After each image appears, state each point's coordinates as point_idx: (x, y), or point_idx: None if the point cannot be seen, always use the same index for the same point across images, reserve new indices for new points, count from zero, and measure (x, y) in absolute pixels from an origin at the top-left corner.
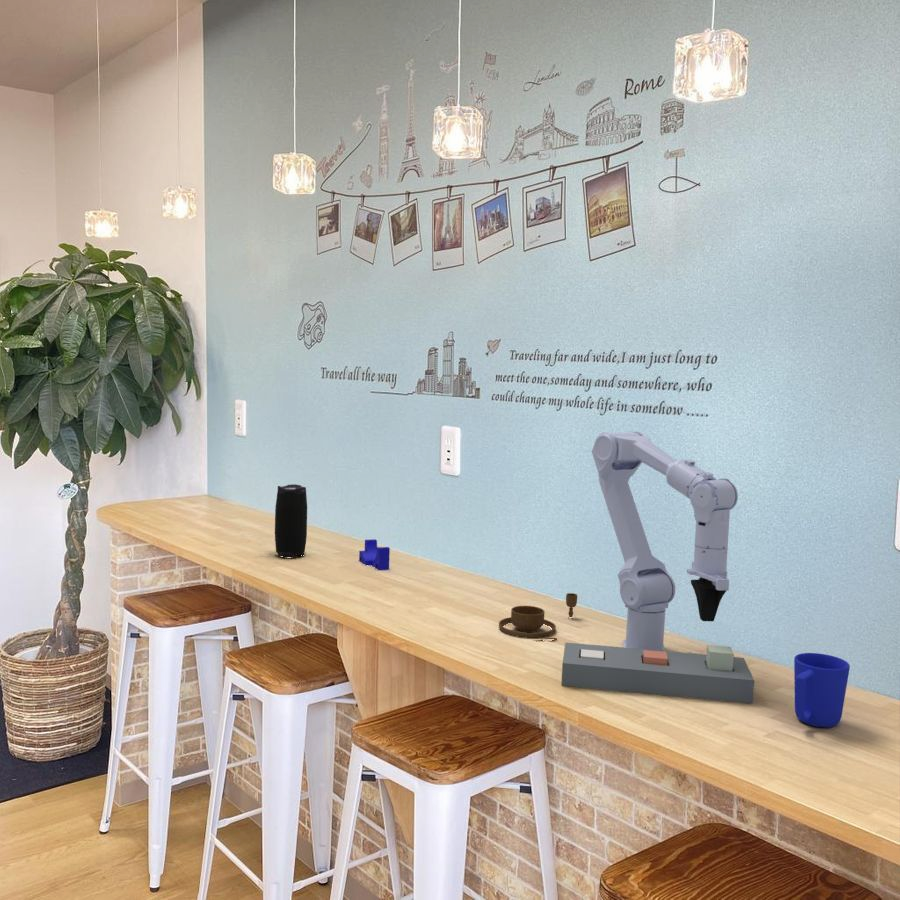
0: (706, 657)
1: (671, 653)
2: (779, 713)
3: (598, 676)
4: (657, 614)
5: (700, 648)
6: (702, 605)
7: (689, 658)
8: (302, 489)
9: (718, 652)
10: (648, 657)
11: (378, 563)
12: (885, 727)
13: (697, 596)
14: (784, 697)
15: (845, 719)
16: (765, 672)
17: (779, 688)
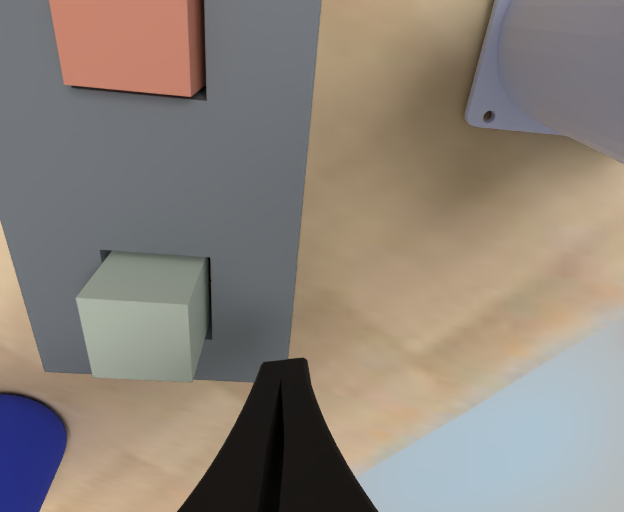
0: (194, 272)
1: (276, 133)
2: (33, 364)
3: None
4: (620, 123)
5: (593, 272)
6: (224, 445)
7: (220, 204)
8: None
9: (84, 329)
10: None
11: None
12: (55, 509)
13: (295, 474)
14: (167, 396)
15: (66, 467)
16: (360, 394)
17: (235, 399)
